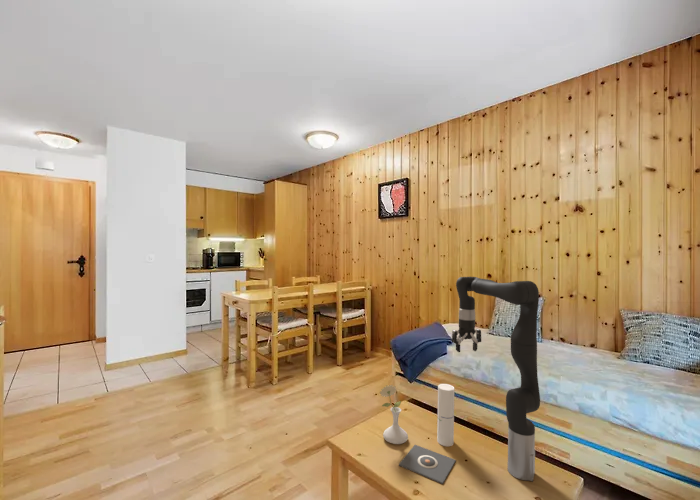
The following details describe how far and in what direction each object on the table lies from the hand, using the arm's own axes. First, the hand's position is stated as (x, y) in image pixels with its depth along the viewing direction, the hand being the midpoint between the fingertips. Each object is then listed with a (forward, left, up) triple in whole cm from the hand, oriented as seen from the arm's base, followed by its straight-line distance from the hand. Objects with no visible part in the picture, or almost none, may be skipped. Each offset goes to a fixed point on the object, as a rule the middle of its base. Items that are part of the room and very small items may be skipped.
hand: (466, 351), depth 161 cm
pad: (+5, +35, -38) cm, 52 cm away
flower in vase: (+24, +28, -38) cm, 53 cm away
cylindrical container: (+4, +16, -38) cm, 42 cm away
